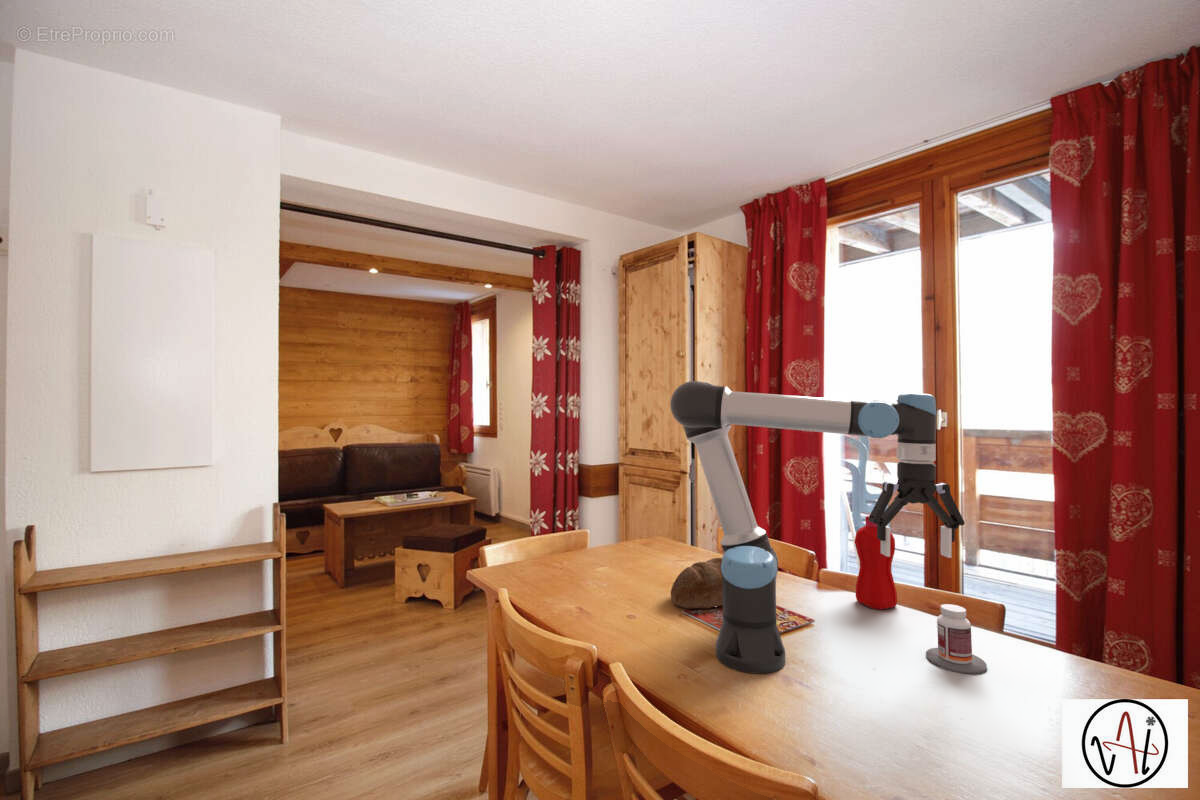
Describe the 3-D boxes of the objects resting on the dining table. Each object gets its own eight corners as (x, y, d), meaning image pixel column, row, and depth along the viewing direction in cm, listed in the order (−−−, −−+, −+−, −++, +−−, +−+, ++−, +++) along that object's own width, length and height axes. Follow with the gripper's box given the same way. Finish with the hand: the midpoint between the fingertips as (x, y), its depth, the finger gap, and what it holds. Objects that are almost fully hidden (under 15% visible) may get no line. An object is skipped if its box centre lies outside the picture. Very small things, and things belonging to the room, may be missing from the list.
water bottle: (871, 595, 157) (868, 510, 157) (902, 607, 146) (900, 517, 147) (846, 598, 154) (844, 512, 155) (876, 612, 144) (874, 520, 144)
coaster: (946, 674, 110) (946, 671, 110) (915, 650, 121) (915, 647, 121) (999, 673, 110) (999, 670, 110) (963, 649, 121) (963, 647, 121)
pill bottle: (977, 660, 114) (976, 609, 115) (964, 668, 111) (963, 615, 111) (945, 649, 120) (944, 600, 120) (932, 657, 116) (931, 606, 116)
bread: (769, 596, 158) (768, 557, 158) (695, 617, 142) (694, 575, 143) (730, 582, 171) (730, 546, 171) (659, 600, 156) (658, 561, 156)
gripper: (868, 462, 116) (868, 559, 116) (983, 464, 116) (983, 561, 116) (853, 459, 124) (852, 549, 123) (960, 460, 123) (960, 551, 123)
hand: (915, 555), depth 120 cm, fingers open, 13 cm apart
